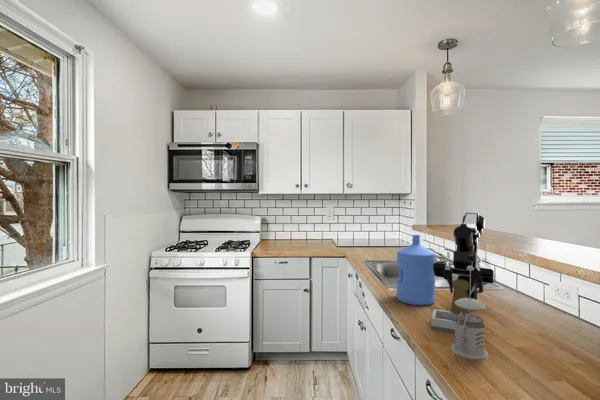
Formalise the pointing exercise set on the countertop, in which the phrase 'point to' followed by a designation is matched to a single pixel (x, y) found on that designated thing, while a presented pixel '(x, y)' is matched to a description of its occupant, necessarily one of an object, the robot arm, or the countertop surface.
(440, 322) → the grey square open box
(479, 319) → the french press
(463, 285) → the cork
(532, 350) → the countertop surface
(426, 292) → the water jug
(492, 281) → the robot arm
